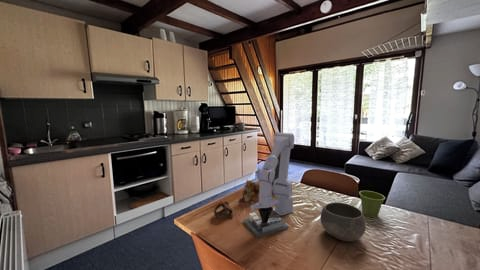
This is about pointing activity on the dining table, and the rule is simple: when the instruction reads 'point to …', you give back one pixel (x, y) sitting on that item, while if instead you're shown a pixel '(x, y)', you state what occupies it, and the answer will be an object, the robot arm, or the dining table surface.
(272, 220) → the strap
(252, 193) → the stuffed squirrel
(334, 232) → the bowl
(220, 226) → the dining table surface
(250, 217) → the block
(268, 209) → the robot arm
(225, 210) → the pottery mug
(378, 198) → the plant pot
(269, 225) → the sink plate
